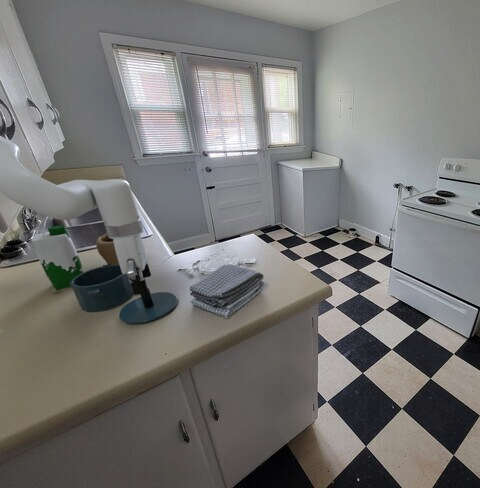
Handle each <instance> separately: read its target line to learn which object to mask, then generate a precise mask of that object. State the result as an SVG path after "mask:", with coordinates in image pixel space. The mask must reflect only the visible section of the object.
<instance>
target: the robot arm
mask: <svg viewBox="0 0 480 488" xmlns="http://www.w3.org/2000/svg"><path fill="white" fill-rule="evenodd" d="M20 150H21V149H20V148H19V146H18V145H17V144H16V143H15V142H13V141H11V140H10V139H7V138H6V137H4V136H1V135H0V193H2V194H3V195H4V196H5V197H6V198H7V199H9V200H11V201H13V202H14V203H16V204H18V205H20V206H21V207H25V208H27V209H29V210H31V211H33V212H34V213H35V212H36V213H38V214H40V215H42V216H45V217H47V218H51V219H55V220H60V221H71V220H75V219H76V218H79V217H80V216H83V215H85V214H86V213H88V212H91V211H93V210H95V209H98V211H99V214H100V216H101V219H102V222H103V224H104V227H105V230H106V233H108V236H109V238H111V239H113V241H114V247H115V251H116V255H117V258H118V261H119V265H120V268H121V271H122V274H124V275H126V274H127V273H128V275H129V280H130V284H131V287H132V290H133V292H134V295H133V296H139V295H140V294H144V293H148V288H149V287H148V286H147V283H146V278H150V277H152V273H151V270H150V269H151V268H150V266H149V264H148V261H147V258H148V257H147V252H146V248H145V245H144V242H143V238H142V236H141V234H142V233H144V228H143V225H142V222H141V218H140V215H139V211H138V209H137V204H136V201H135V198H134V194H133V191H132V188H131V185H130V183H129V182H128V181H127V180H125V179H121V178H111V179H102V180H95V179H94V180H91V179H74V180H69V181H66V182H63V183H60V184H55V183H53V182H51V181H49V180H47V179H45V178H43V177H41V176H39V175H37V174H35V173H33V172H32V171H31V170H29V169H28V168H27V167H25V166H24V165H23V164H22V163H21V162H20V157H21V151H20Z"/></svg>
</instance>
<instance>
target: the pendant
mask: <svg viewBox="0 0 480 488" xmlns="http://www.w3.org/2000/svg"><path fill="white" fill-rule="evenodd" d="M231 251H232V250H223V251H222V252H227V253H228V252H231ZM217 252H218V251H215V252H213V253H217ZM219 256H220V257H219ZM221 256H222V257H221ZM213 257H217V258H214V259H213ZM207 258H208V259H207ZM191 261H192V260H191ZM191 261H190V262H191ZM203 261H204V262H206V264H205V263H202V262H203ZM207 261H208V262H207ZM190 262H189V263H190ZM192 262H193V261H192ZM192 262H191V263H192ZM191 263H190V264H191ZM242 263H243V264H242ZM245 263H254V264H253V265H256V264H257V258H255V257H252V258H245V259H241V260H240V257H239V256H237V254H236V253H235V254H213V255H210V256H209V257H207V256H206V257H205V258H203V260H201V261H200V262H197V263H193V265H192V266H195V265H196V264H197V266H198V268H197V270H198V269H199V270H198V272H199V274H200V275H204V274H201V273H208V274H206V275H207V276H208V275H210V274H211V273H213V272H214V271H215V270H217V269H218V268H220V267H222V266H224V265H227V264H231V265H235V266H239V267H242V268H244V266H242V265H246V264H245ZM200 264H201V267H202V268H201V267H200ZM183 267H184V268H185V267H186V266H183ZM187 267H188V266H187ZM189 267H190V265H189ZM189 267H188V268H189ZM188 268H187V269H182V270H181V271H185V273H186V274H188V273H191V274H189V275H190V276H194V272H195V269H196V268H192V269H194V271H193V270H192V269H191V268H189V269H188ZM187 272H188V273H187ZM200 272H201V273H200Z"/></svg>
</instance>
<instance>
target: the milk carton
mask: <svg viewBox="0 0 480 488" xmlns="http://www.w3.org/2000/svg"><path fill="white" fill-rule="evenodd" d="M31 243H32V245H33V250H34V251H35V254H36V256H37V259H38V260H39V262H40V265H41V267H42V269H43V271H44V273H45V275H46V277H47V279H48V280H49V282H50V283H51V285H52V286H53V288H54V289H55V290H56V291H59V290H63V289H66V288H70V287H71V285H70V282H71V280H72V279H73V278H74V277H76V276H78V275H79V274H81V273H83V272H84V269H83V265H82V262H81V259H80V256H79V254H78V251H77V249H76V246H75V245H74V241H73V240H72V238H71V235H70V233H69V232H68V229H67V228H66V226H65V225H64V224H59V225H53V226H50V227H48V228H47V231H44V232H42V233H41V232H40V233H36V234H35V233H34V235H33V237H32V239H31ZM71 288H72V287H71Z"/></svg>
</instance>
